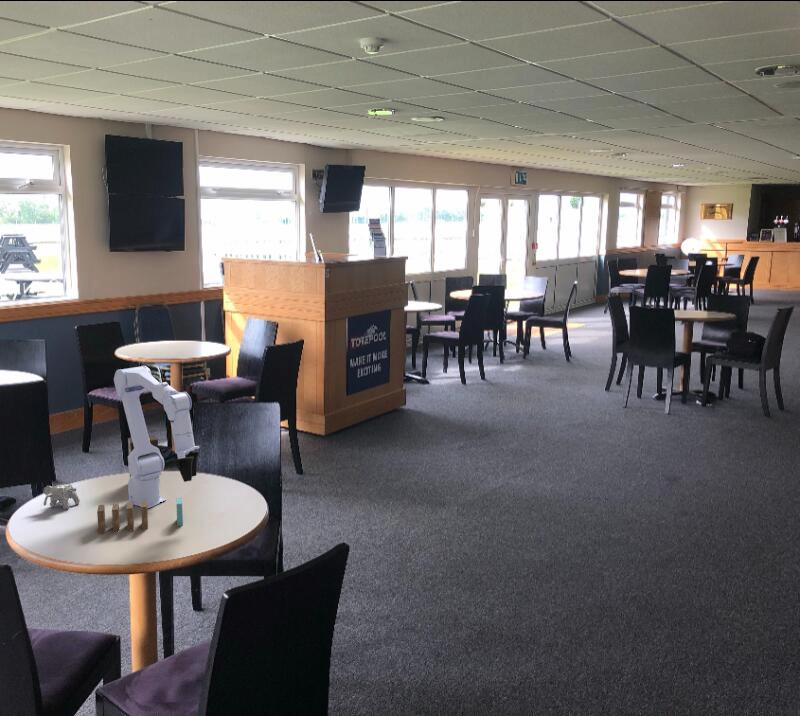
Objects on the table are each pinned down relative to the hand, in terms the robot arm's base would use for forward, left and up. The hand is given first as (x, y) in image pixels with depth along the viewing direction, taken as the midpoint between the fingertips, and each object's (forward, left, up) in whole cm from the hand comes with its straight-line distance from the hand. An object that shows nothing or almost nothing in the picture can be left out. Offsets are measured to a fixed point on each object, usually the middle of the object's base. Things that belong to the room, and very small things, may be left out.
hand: (190, 478), depth 225 cm
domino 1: (-19, -17, -14) cm, 29 cm away
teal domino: (-4, -1, -14) cm, 15 cm away
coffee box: (-38, +18, -15) cm, 44 cm away
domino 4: (-11, -8, -14) cm, 20 cm away
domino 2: (-17, -14, -14) cm, 26 cm away
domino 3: (-14, -11, -14) cm, 23 cm away
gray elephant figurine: (-44, -11, -15) cm, 48 cm away
